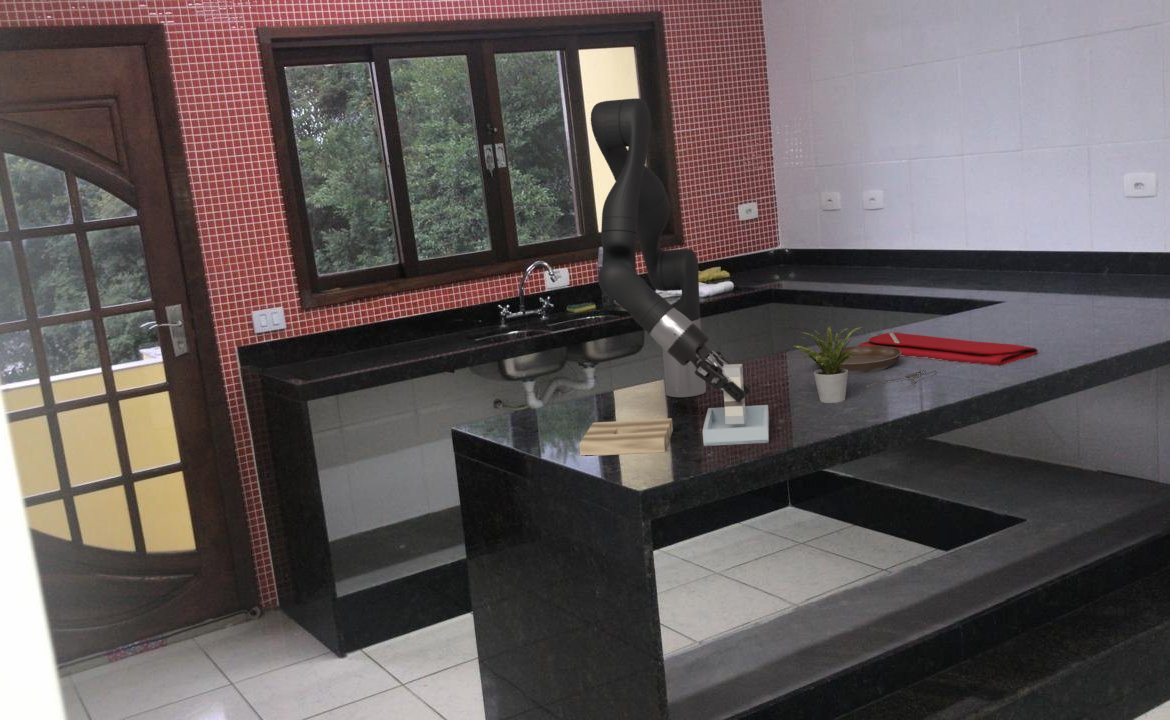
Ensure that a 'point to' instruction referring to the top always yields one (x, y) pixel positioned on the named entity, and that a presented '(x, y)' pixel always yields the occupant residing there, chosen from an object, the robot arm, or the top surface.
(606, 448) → the wooden board with hole
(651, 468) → the top surface
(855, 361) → the plant saucer
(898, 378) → the pliers
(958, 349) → the dish drying mat
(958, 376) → the top surface
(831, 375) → the house plant
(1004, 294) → the top surface
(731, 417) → the block
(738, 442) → the parts tray
